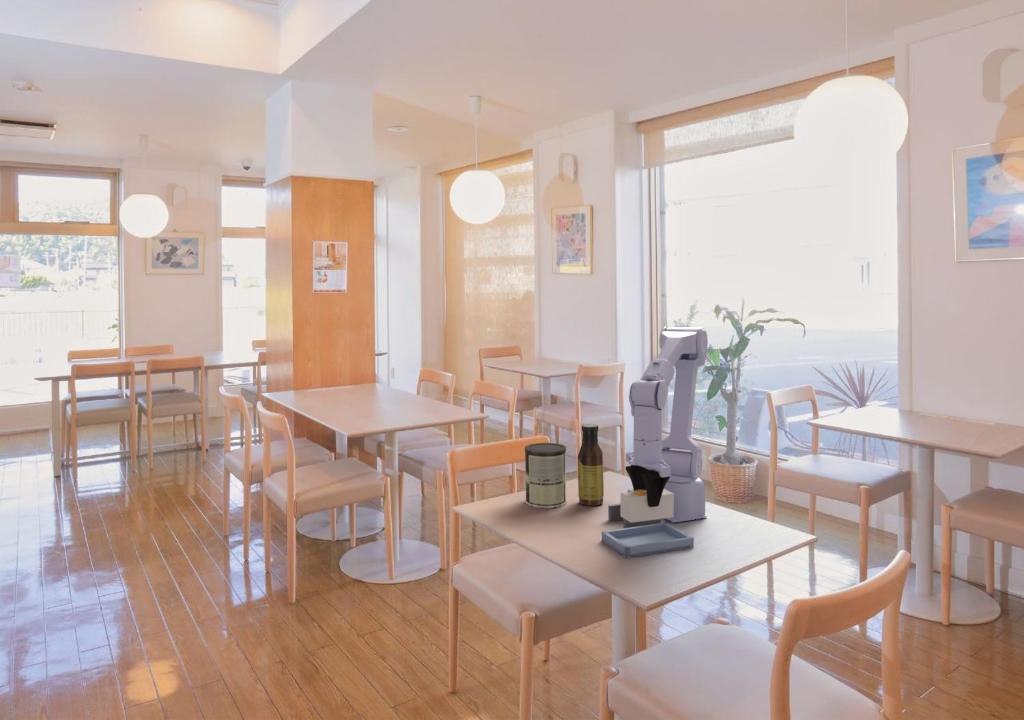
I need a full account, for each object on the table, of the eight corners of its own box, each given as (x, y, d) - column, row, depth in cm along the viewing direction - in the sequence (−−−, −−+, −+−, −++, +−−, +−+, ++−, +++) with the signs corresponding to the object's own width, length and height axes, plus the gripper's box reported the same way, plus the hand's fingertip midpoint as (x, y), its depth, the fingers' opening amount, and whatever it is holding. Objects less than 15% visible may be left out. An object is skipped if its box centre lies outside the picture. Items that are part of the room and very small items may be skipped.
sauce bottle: (586, 498, 183) (586, 421, 181) (608, 502, 180) (608, 423, 178) (573, 504, 178) (572, 425, 176) (595, 508, 174) (595, 427, 172)
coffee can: (517, 501, 182) (516, 446, 180) (550, 494, 187) (550, 440, 186) (540, 511, 173) (540, 453, 172) (574, 504, 178) (574, 448, 177)
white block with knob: (662, 511, 153) (662, 485, 153) (673, 517, 149) (674, 490, 149) (620, 516, 150) (620, 489, 149) (631, 522, 146) (631, 495, 145)
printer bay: (642, 515, 169) (642, 487, 168) (661, 525, 162) (661, 497, 161) (608, 519, 166) (608, 492, 165) (625, 530, 159) (625, 501, 158)
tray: (665, 531, 158) (665, 522, 158) (693, 547, 148) (693, 537, 148) (601, 540, 152) (601, 531, 152) (626, 558, 143) (626, 548, 142)
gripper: (613, 433, 153) (613, 495, 155) (649, 447, 140) (648, 515, 141) (642, 430, 156) (642, 492, 157) (680, 444, 142) (679, 511, 144)
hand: (647, 502), depth 149 cm, fingers closed on white block with knob, 4 cm apart
